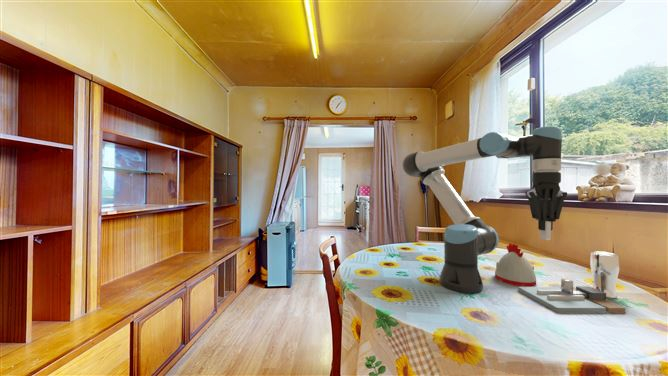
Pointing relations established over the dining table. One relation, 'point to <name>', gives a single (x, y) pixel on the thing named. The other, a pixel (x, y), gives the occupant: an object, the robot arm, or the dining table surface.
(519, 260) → the kitchen timer
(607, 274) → the beer glass
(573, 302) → the door lock board
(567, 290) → the steel bolt
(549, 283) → the dining table surface
